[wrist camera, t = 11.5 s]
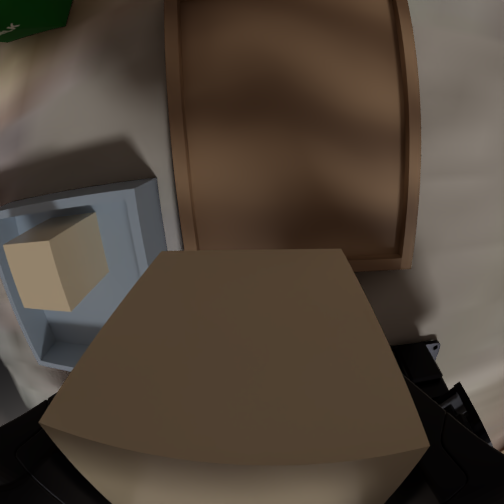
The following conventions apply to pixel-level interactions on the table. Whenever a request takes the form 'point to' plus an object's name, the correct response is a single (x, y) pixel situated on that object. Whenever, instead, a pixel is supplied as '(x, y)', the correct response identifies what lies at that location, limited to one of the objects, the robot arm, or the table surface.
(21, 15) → the milk carton
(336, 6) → the walnut caddy
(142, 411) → the stone
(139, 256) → the slate bin
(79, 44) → the table surface
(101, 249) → the tan rectangular block
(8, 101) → the table surface
